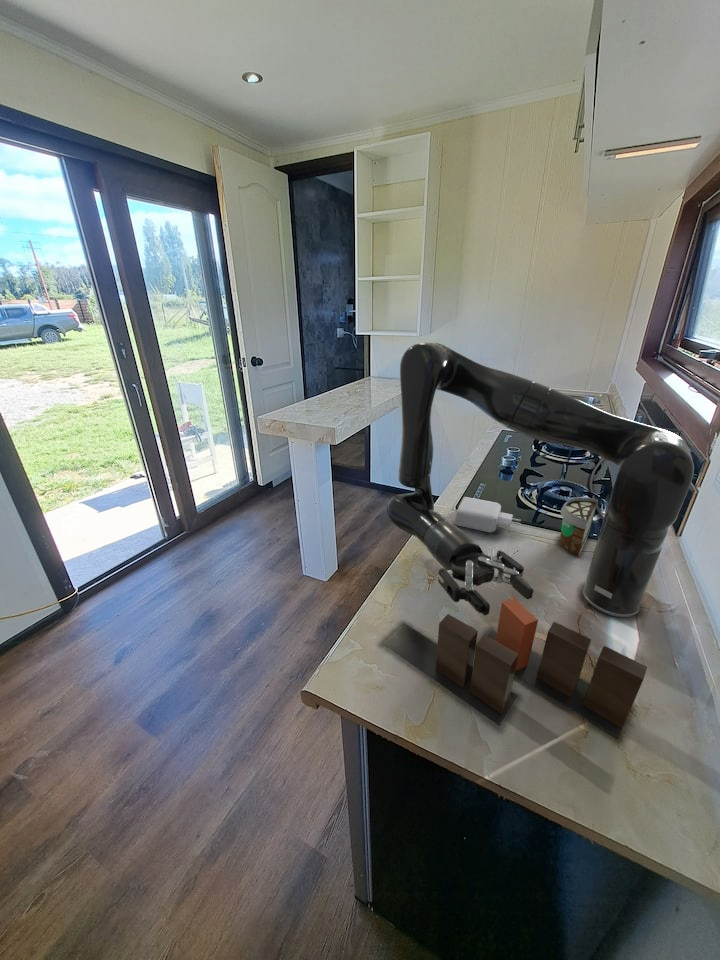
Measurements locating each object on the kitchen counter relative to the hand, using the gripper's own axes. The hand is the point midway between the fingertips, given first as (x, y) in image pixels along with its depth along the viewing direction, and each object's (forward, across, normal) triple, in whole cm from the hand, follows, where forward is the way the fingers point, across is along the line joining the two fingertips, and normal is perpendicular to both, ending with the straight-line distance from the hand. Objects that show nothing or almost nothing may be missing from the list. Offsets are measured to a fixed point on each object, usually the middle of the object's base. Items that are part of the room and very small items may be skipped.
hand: (509, 602), depth 61 cm
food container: (-18, +35, +10) cm, 40 cm away
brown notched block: (+8, +3, +10) cm, 13 cm away
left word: (0, -11, +10) cm, 15 cm away
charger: (-32, +23, +10) cm, 41 cm away
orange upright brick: (+2, 0, +10) cm, 10 cm away
